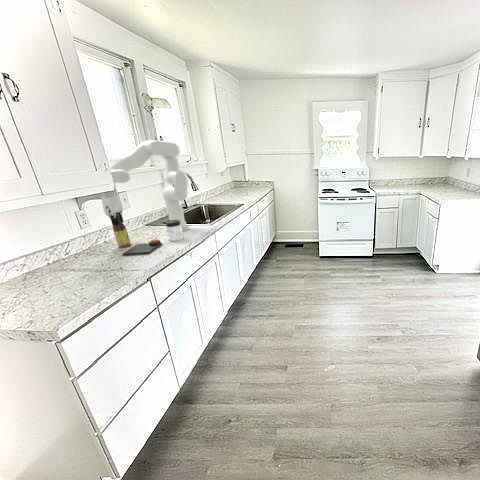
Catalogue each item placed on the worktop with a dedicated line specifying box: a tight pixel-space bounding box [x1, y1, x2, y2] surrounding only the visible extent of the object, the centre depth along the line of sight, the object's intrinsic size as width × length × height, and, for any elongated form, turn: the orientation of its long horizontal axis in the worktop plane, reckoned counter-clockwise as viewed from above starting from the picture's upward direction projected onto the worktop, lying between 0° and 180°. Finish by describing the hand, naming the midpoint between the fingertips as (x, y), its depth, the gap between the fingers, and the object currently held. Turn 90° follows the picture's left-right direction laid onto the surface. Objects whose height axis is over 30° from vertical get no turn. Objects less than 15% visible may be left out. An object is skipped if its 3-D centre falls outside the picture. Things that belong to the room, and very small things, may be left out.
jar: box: [165, 219, 184, 242], centre depth 170 cm, size 9×8×12 cm
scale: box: [121, 239, 163, 257], centre depth 154 cm, size 16×14×3 cm
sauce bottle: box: [112, 214, 131, 249], centre depth 158 cm, size 7×6×20 cm
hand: (118, 223), depth 156 cm, fingers closed on sauce bottle, 4 cm apart
